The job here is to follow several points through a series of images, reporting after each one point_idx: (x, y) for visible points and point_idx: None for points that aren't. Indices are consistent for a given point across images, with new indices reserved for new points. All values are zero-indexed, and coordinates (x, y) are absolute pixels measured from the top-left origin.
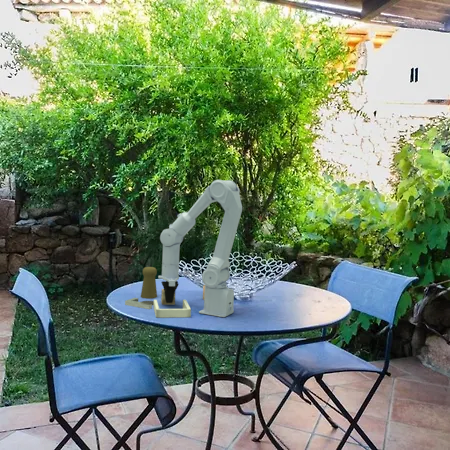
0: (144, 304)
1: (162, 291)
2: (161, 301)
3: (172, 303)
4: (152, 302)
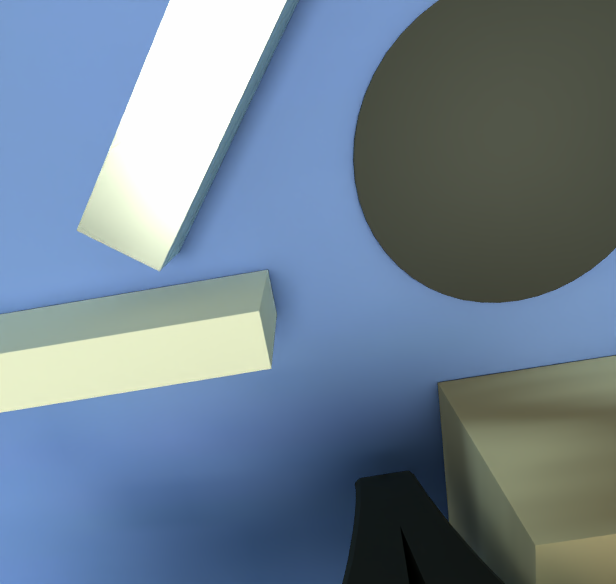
0: (125, 121)
1: (574, 540)
2: (585, 367)
3: (454, 522)
4: (539, 227)
